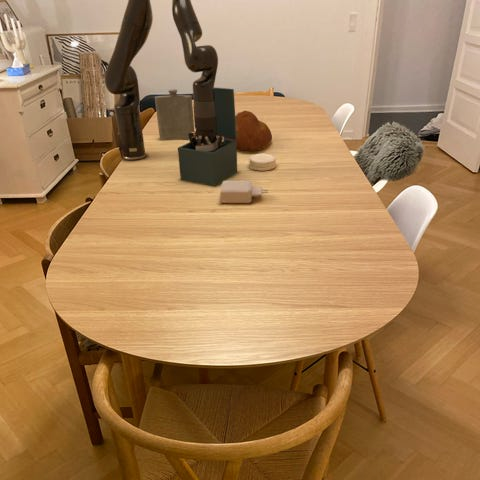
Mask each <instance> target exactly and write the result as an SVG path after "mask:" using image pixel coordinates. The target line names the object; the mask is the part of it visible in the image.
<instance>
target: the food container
mask: <svg viewBox="0 0 480 480" xmlns="http://www.w3.org/2000/svg"><path fill="white" fill-rule="evenodd" d="M217 147H218V146H217V143H216V141H215V142H214V143H212V144H209V145H206V144H203V143H201V144H199V146H196V150H199V151H206V152H212V153H213V150H215V151H216V149H217Z"/></svg>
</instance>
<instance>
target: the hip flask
mask: <svg viewBox="0 0 480 480" xmlns="http://www.w3.org/2000/svg"><path fill="white" fill-rule="evenodd" d="M192 96H193V95H186V94H180V93H179V94H178V89H174V88H173V89H168V95H156V96H154V102H155V103H154V104H155V112H156V120H157V127H158V135H159V140H160V141H168V140H169V141H170V140H172V141H173V140H189V136H188V134H189V133H190V132H192V131H194V132H196V130H195V122H194V108H193V97H192Z"/></svg>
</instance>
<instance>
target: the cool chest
mask: <svg viewBox="0 0 480 480" xmlns="http://www.w3.org/2000/svg"><path fill="white" fill-rule="evenodd" d="M196 141H197V142H198V138H197V137H196ZM216 142H217V139H216ZM217 145H218V142H217ZM177 157H178V165H179V176H180V180H181V181H183V182H184V181H185V182H189V183H196V184H201V185H206V186H212V187H217V186H219V185H220V184H222V183H223V181H227V180H229V178H231V177H232V176H234V175H236V174H237V173H238V148H237V145H236V141H234V140H226V139H225V143H224V147H222V148H220V149H218V150H216V151H214V152H213V153H212V152H206V151H199V150H193V149H191V145H190V141H188V142H187V143H185V144H182V145H181V146H179V147H177Z"/></svg>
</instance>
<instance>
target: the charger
mask: <svg viewBox="0 0 480 480" xmlns="http://www.w3.org/2000/svg"><path fill="white" fill-rule="evenodd" d="M253 185H254V184H253V182H252V181H251V180H224V181H223V182H221V187H220V203H221V204H249V203H251V202H252V201H253V197H260V198H261V197H263V194H269V189H263V187H262V186H253Z"/></svg>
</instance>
